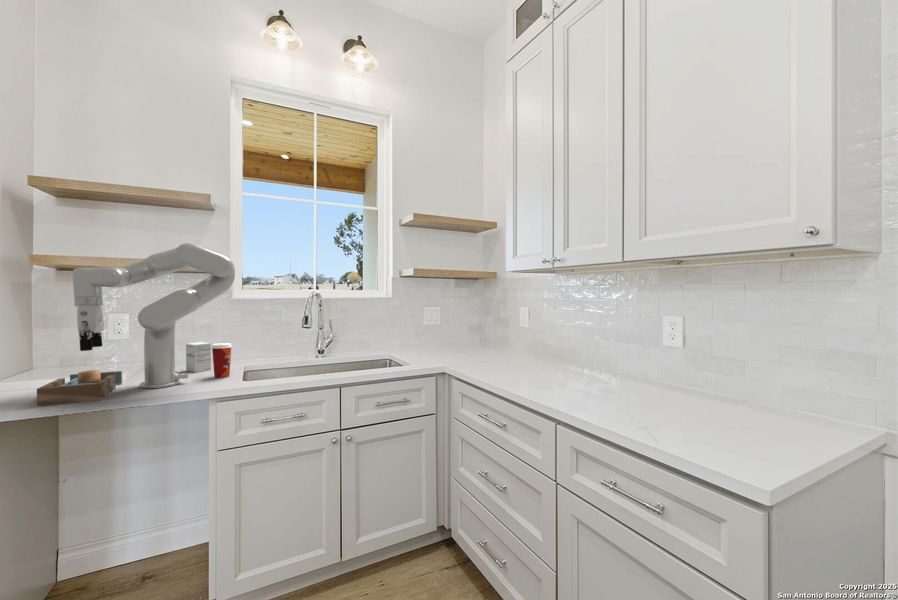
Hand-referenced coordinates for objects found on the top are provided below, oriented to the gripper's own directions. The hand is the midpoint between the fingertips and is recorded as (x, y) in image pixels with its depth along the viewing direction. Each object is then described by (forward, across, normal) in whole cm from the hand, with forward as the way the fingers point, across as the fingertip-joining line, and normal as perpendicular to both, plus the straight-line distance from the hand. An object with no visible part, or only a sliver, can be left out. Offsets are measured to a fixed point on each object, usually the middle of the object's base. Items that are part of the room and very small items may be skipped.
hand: (91, 348), depth 141 cm
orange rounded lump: (+14, 0, +1) cm, 14 cm away
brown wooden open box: (+15, -9, +1) cm, 18 cm away
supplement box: (+17, +25, -30) cm, 42 cm away
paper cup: (+17, +7, -40) cm, 44 cm away
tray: (+15, 0, +1) cm, 15 cm away
